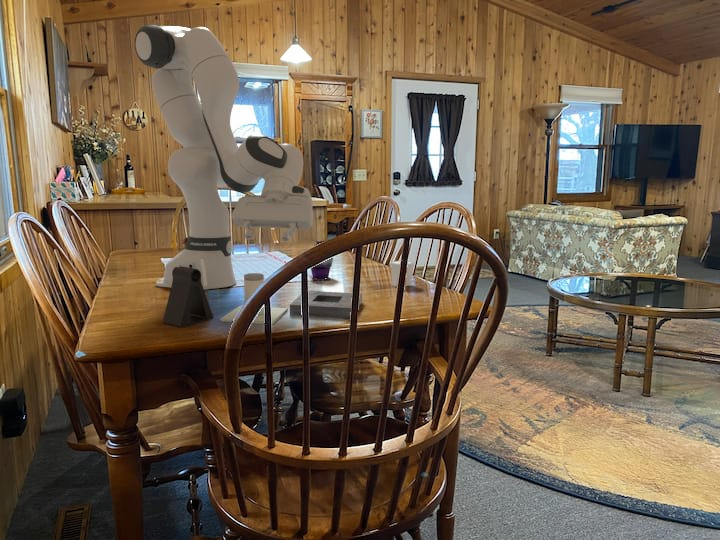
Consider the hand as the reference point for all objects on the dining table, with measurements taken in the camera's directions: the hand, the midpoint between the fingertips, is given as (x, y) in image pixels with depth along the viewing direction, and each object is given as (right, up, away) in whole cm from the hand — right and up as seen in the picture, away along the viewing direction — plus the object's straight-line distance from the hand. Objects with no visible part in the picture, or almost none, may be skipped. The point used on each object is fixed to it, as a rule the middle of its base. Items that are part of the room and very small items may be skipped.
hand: (266, 238), depth 128 cm
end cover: (-2, -18, -6) cm, 19 cm away
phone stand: (-15, -19, -11) cm, 27 cm away
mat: (-2, -18, -6) cm, 19 cm away
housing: (+15, -17, +2) cm, 23 cm away
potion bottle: (+10, -10, +39) cm, 42 cm away
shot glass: (+35, -12, +31) cm, 48 cm away
